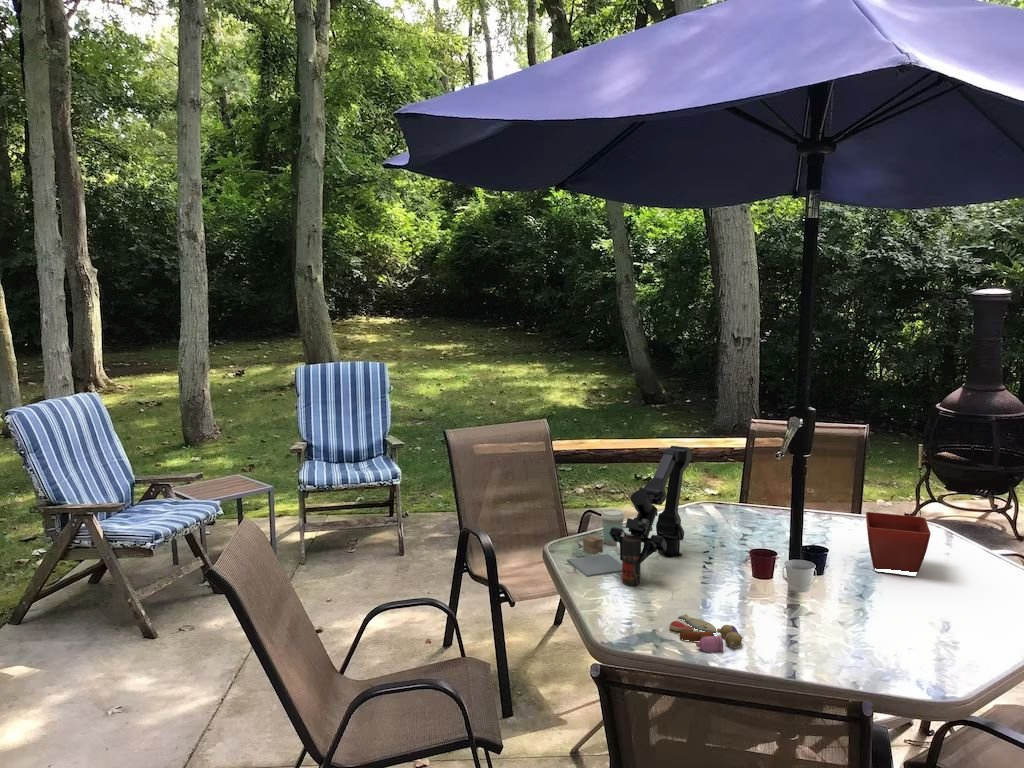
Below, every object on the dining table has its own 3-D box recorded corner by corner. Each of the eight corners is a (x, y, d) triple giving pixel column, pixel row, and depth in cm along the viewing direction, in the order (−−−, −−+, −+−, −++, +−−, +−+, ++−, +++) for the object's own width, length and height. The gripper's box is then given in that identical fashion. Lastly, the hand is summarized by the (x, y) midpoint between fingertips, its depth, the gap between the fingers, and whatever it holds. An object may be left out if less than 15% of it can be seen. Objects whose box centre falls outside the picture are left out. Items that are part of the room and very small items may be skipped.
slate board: (607, 555, 290) (607, 553, 290) (629, 570, 276) (629, 569, 275) (567, 560, 285) (567, 559, 285) (587, 576, 270) (587, 575, 270)
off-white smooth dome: (630, 548, 299) (630, 537, 298) (639, 554, 292) (639, 543, 292) (613, 550, 296) (613, 540, 296) (622, 556, 290) (622, 546, 289)
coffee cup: (623, 539, 308) (623, 509, 306) (623, 547, 300) (624, 515, 298) (600, 538, 309) (601, 508, 307) (600, 546, 300) (601, 514, 299)
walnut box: (593, 548, 298) (593, 535, 298) (602, 552, 294) (602, 538, 294) (583, 550, 295) (583, 537, 295) (592, 554, 291) (592, 541, 291)
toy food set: (763, 647, 221) (764, 633, 220) (730, 666, 210) (731, 651, 209) (685, 617, 240) (686, 604, 239) (651, 633, 229) (651, 620, 228)
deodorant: (620, 579, 267) (621, 535, 265) (637, 578, 268) (638, 535, 265) (624, 586, 261) (624, 541, 259) (642, 585, 262) (643, 541, 260)
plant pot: (864, 574, 274) (867, 526, 271) (862, 556, 291) (865, 511, 289) (927, 582, 267) (931, 533, 264) (921, 563, 284) (925, 517, 282)
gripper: (612, 503, 269) (596, 544, 262) (664, 512, 259) (649, 556, 252) (621, 520, 277) (606, 560, 270) (673, 529, 267) (659, 572, 259)
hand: (629, 562), depth 262 cm, fingers closed on deodorant, 6 cm apart
